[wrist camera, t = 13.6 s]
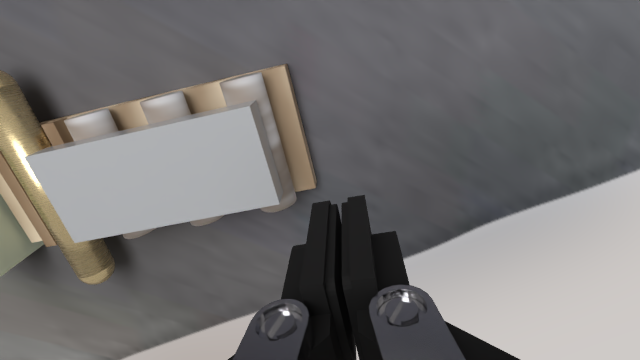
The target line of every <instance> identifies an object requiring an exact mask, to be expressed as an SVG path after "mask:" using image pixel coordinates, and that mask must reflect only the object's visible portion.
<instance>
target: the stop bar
mask: <svg viewBox="0 0 640 360" xmlns="http://www.w3.org/2000/svg"><path fill="white" fill-rule="evenodd" d="M42 245H44V242H43V241H39V242H34V243H32V242H31V241H30V239H29V238H28V236H27V235H26V233H25V231H24V230H23V228H22V227H21V225H20V224H19V222H18V221H17V219H16V217H15V216H14V214H13V213H12V211H11V210H10V208H9V206H8V205H7V203H6V202H5V200H4V199H3V197H2V196H1V194H0V277H1V276H3V275H4V274H5V273H6V272H8V271H9V270H10V269H12V268H13V267H14V266H16V265H17V264H18V263H20V262H21V261H22V260H24V259H25V258H26V257H28V256H29V255H30V254H32V253H33V252H34V251H36V250H37V249H38V248H40V247H41V246H42Z"/></svg>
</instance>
